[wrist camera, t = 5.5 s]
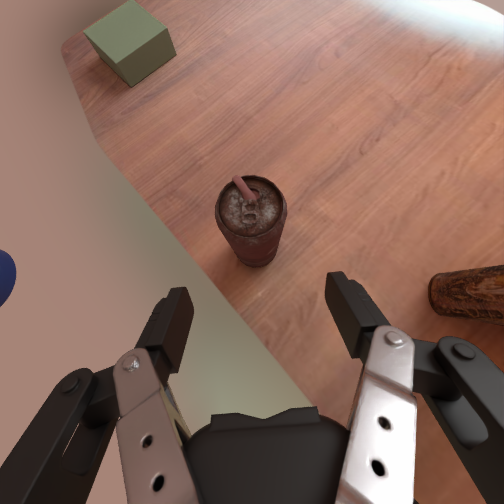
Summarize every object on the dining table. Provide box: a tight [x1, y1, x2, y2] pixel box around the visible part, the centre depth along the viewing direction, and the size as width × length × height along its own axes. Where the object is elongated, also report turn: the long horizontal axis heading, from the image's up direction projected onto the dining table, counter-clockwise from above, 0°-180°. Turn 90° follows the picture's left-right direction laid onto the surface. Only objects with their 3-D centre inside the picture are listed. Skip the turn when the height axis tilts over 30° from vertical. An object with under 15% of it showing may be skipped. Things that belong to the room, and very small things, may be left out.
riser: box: [83, 0, 177, 87], centre depth 37 cm, size 11×11×4 cm
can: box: [215, 175, 287, 267], centre depth 23 cm, size 6×6×14 cm
